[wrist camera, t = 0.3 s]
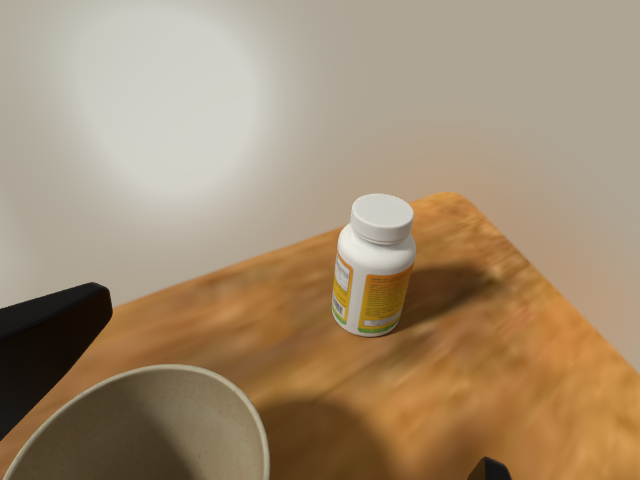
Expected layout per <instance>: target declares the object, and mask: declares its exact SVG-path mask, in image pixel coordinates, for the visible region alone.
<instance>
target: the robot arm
mask: <svg viewBox="0 0 640 480" xmlns="http://www.w3.org/2000/svg"><path fill="white" fill-rule="evenodd" d="M112 314H113V309H112V303H111V297H110V292H109V290H108V289H107V288H106V287H104V286H102V285H100V284H98V283H94V282H91V283H87V284H83V285H79V286H76V287H73V288H69V289H66V290H62V291H59V292H56V293H52V294H49V295H46V296H42V297H39V298H35V299H32V300H29V301H25V302H22V303H18V304H15V305H12V306H8V307H5V308H1V309H0V441H1V440H2V439H3V438H4V437H5V436H6V435H7V434H8V433H9V432H10V431H11V430H12V429H13V428H14V427H15V426H16V425H17V424H18V423H19V422H20V421H21V420H22V419H23V418H24V417H25V415H26V414H27V413H28V412H29V411H30V410H31V409H32V408H33V407H34V406H35V405H36V404H37V403H38V402H39V401H40V400H41V399H42V398H43V397H44V396H45V395H46V394H47V393H48V392H49V391H50V390H51V389H52V388H53V387H54V386H55V385H56V384H57V383H58V382H59V381H60V380H61V379H62V378H63V377H64V376H65V374H66V373H67V372H68V371H69V370H70V369H71V368H72V366H73V365H74V364H75V363H76V362H77V361H78V359H79V358H80V357H81V356H82V354H83V353H84V352H85V351H86V349H87V348H88V347H89V346H90V345H91V343H92V342H93V341H94V340H95V338H96V337H97V336H98V335H99V333H100V332H101V331H102V330H103V329H104V327H105V326H106V325H107V324H108V322H109V321H110V319H111V317H112ZM467 480H512V478H511V476H510V473H509V471H508V469H507V467H506V466H505V465H504V464H502V463H500V462H498V461H496V460H494V459H491V458H489V457H483V458H482V459H481V460H480V461H479V463H478V464H477V465H476V467H475V468H474V469H473V471H472V472H471V473H470V475H469V476H468V478H467Z"/></svg>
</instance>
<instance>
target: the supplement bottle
mask: <svg viewBox="0 0 640 480" xmlns="http://www.w3.org/2000/svg"><path fill="white" fill-rule="evenodd" d="M413 218H414V212H413V209H412V207H411V206H410V205H409V204H408V203H407V202H405V201H404V200H402V199H400V198H398V197H395V196H392V195H386V194H368V195H364V196H362V197H360V198H358V199H357V200H356V201H355V203H354V204H353V207H352V213H351V218H350V223H349V224H348V225H347V226H346V227H345V228H344V229H343V230H342V232H341V233H340V236H339V239H338V246H337V256H336V266H335V275H334V285H333V295H332V312H333V316H334V318H335V320H336V321H337V322H338V324H339V325H340V326H341V327H342V328H344V329H345V330H347V331H348V332H350V333H353V334H356V335H359V336H365V337H375V336H381V335H384V334H386V333H388V332H390V331H391V330H392V329H393V328H394V327H395V326H396V325H397V323H398V321H399V319H400V316H401V312H402V308H403V304H404V300H405V296H406V292H407V288H408V284H409V280H410V276H411V272H412V268H413V264H414V260H415V255H416V244H415V241H414V238H413V237H412V235H411V234H410V231H411V228H412V223H413Z"/></svg>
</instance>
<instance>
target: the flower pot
mask: <svg viewBox="0 0 640 480" xmlns="http://www.w3.org/2000/svg"><path fill="white" fill-rule="evenodd" d="M3 480H270V450H269V444H268V439H267V435H266V431H265V428H264V425H263V422H262V420H261V417H260V415H259V413H258V412H257V410H256V408H255V406H254V405H253V403H252V402H251V401H250V399H249V398H248V397H247V395H246V394H245V393H244V392H243V391H242V390H241V389H240V388H239V387H237V386H236V385H235V384H234V383H232V382H231V381H229V380H228V379H226V378H225V377H223V376H221V375H219V374H217V373H215V372H212V371H210V370H207V369H204V368H200V367H195V366H190V365H182V364H163V365H153V366H147V367H142V368H138V369H134V370H130V371H127V372H124V373H121V374H118V375H115V376H113V377H110V378H108V379H106V380H104V381H102V382H100V383H98V384H96V385H94V386H92V387H91V388H89V389H87V390H85V391H84V392H82V393H81V394H79V395H78V396H76V397H75V398H73V399H72V400H71V401H69V402H68V403H66V404H65V405H64V406H62V407H61V408H60V409H59V410H58V411H56V412H55V413H54V414H53V415H52V416H51V417H50V418H49V419H48V420H46V421H45V422H44V423H43V424H42V425H41V426H40V427H39V429H38V430H37V431H36V432H35V433H34V434H33V435H32V436H31V437H30V439H29V440H28V441H27V442H26V444H25V445H24V446H23V447H22V449H21V450H20V452H19V453H18V454H17V456H16V457H15V459H14V460H13V462H12V464H11V465H10V467H9V469H8V470H7V472H6V474H5V476H4V478H3Z"/></svg>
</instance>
